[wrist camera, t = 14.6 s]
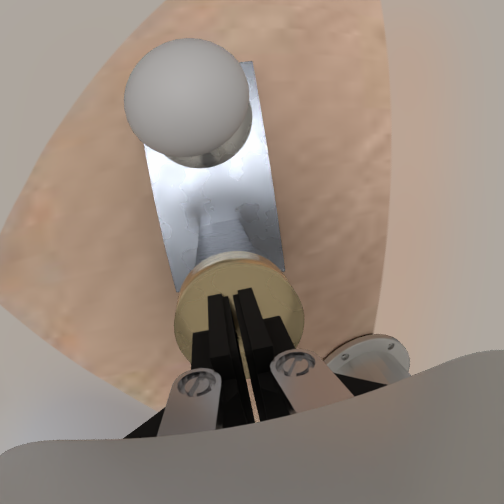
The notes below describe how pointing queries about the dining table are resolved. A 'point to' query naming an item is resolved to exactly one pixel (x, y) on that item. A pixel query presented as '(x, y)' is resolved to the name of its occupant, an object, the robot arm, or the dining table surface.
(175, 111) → the lightbulb
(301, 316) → the brass knob
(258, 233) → the metal press stand
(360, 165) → the dining table surface
